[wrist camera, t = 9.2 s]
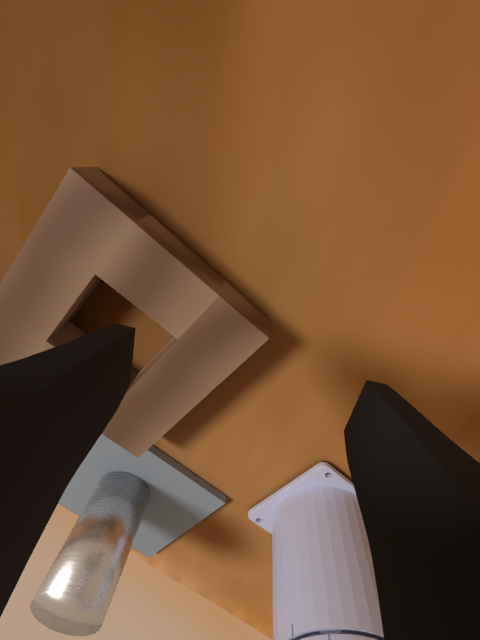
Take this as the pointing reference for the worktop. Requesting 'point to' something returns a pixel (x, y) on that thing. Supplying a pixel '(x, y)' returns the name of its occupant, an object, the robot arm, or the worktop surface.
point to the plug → (92, 557)
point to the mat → (165, 492)
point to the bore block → (137, 287)
